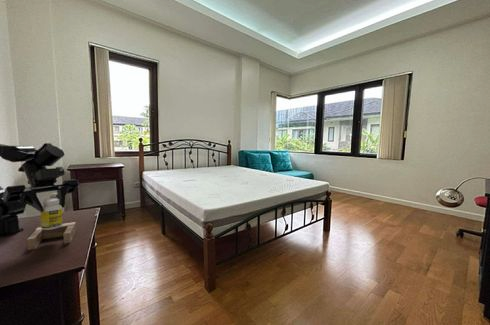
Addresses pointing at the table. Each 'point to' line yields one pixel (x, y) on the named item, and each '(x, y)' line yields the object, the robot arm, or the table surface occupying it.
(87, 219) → the table surface
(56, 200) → the supplement bottle
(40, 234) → the notched board
